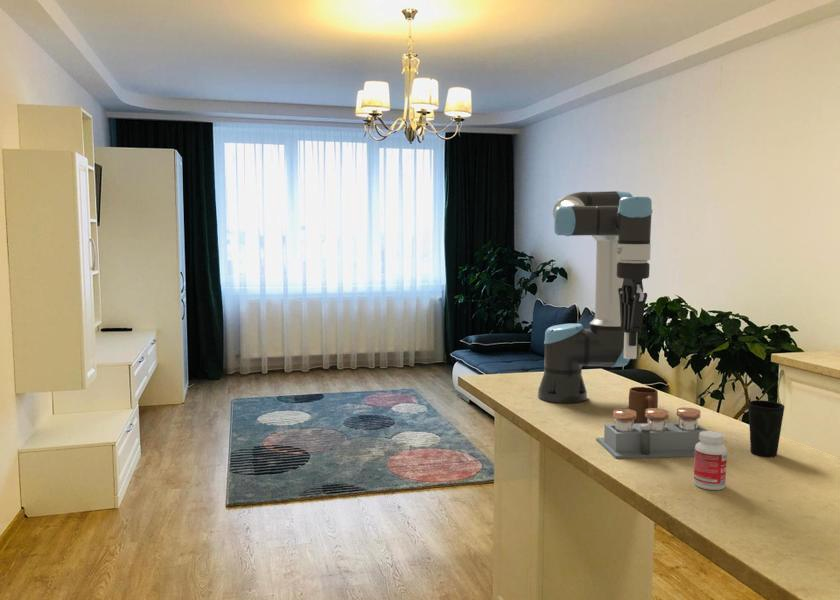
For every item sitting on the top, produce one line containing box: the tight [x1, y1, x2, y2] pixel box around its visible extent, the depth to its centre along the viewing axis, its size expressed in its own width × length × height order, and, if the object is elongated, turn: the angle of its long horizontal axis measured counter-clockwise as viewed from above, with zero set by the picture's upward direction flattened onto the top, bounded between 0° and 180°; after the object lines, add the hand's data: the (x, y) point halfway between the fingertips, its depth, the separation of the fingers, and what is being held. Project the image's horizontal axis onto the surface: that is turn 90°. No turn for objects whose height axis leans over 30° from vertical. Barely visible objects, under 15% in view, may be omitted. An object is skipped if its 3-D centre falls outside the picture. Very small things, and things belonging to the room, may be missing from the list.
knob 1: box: [612, 408, 636, 432], centre depth 168 cm, size 5×5×8 cm
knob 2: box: [676, 406, 702, 430], centre depth 169 cm, size 5×5×8 cm
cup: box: [747, 399, 785, 458], centre depth 164 cm, size 8×8×12 cm
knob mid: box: [645, 408, 670, 431], centre depth 168 cm, size 5×5×8 cm
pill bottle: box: [693, 430, 728, 491], centre depth 143 cm, size 6×6×11 cm
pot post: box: [640, 424, 652, 455], centre depth 162 cm, size 3×3×7 cm
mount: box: [595, 422, 709, 459], centre depth 168 cm, size 14×25×5 cm, turn 94°
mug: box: [627, 386, 659, 424], centre depth 187 cm, size 12×8×9 cm, turn 179°
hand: (629, 358), depth 168 cm, fingers closed
